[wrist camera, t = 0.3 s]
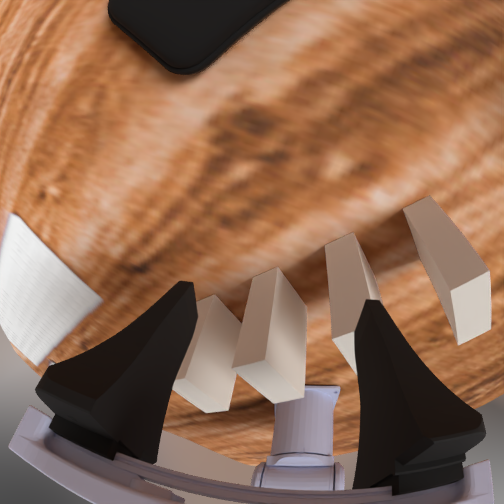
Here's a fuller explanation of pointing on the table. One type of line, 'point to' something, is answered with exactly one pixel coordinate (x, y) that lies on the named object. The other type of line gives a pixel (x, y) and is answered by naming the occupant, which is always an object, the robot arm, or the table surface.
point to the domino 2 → (273, 339)
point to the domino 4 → (452, 269)
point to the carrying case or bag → (188, 28)
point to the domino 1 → (210, 358)
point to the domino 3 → (348, 290)
